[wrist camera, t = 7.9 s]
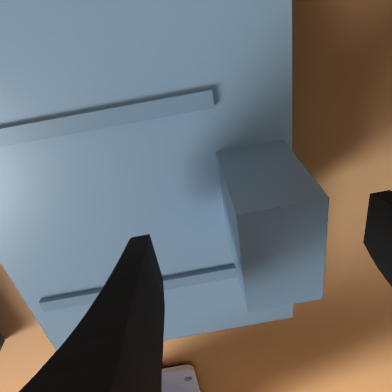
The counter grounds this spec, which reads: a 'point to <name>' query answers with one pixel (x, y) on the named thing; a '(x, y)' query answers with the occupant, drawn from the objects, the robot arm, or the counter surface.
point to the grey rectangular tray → (1, 341)
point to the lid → (155, 159)
